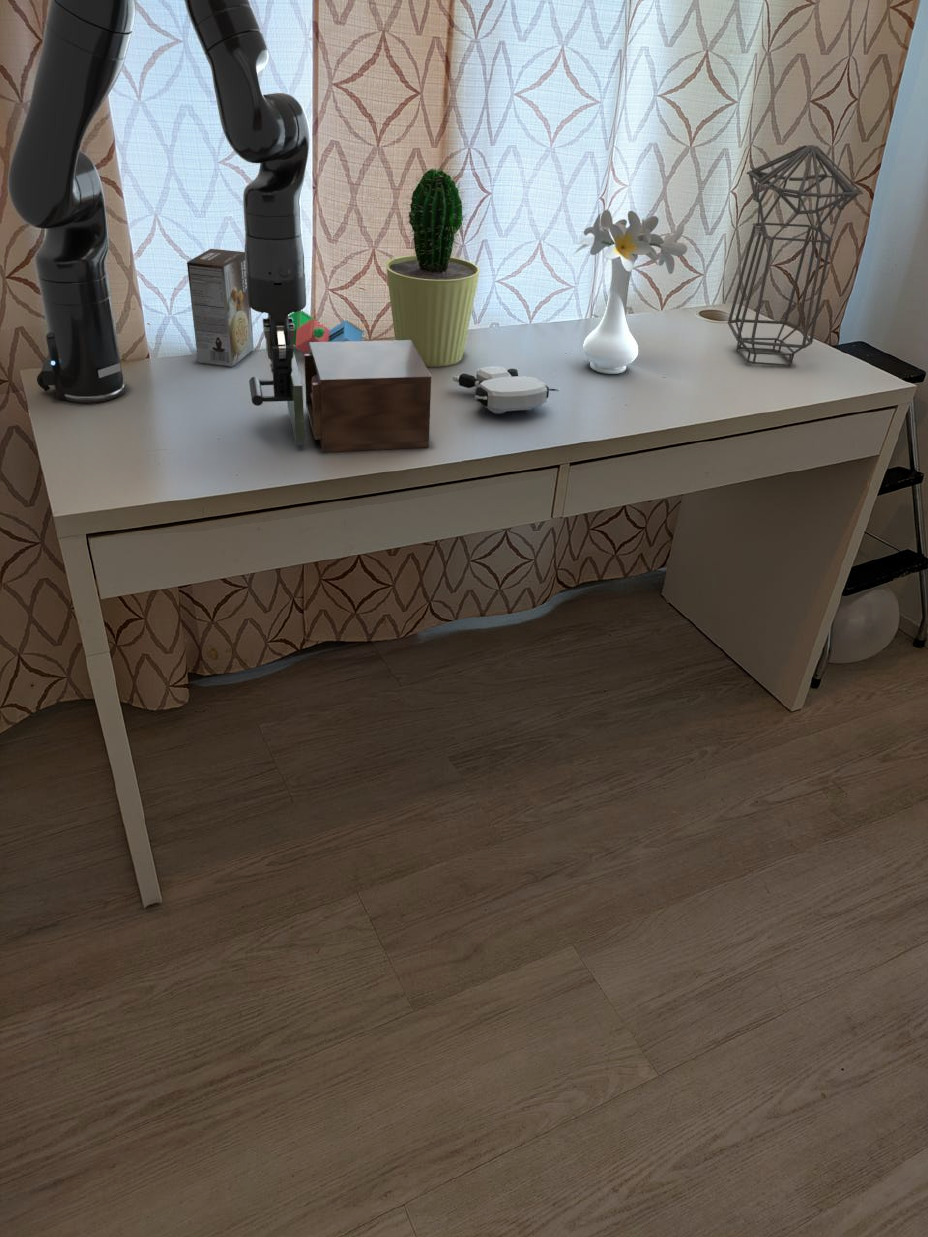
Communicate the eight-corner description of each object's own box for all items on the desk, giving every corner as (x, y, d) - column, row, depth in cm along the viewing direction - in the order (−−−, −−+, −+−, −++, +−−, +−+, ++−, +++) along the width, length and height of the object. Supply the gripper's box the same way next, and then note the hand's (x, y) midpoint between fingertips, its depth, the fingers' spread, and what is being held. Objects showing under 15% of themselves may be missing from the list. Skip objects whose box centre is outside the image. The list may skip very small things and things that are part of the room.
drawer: (255, 447, 131) (251, 387, 126) (250, 407, 141) (246, 351, 137) (394, 440, 135) (395, 382, 130) (379, 403, 146) (379, 348, 141)
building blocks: (315, 378, 168) (363, 350, 160) (278, 356, 162) (326, 327, 155) (318, 339, 170) (365, 311, 163) (281, 317, 165) (328, 286, 157)
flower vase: (675, 372, 166) (703, 218, 152) (587, 386, 158) (609, 225, 144) (629, 348, 176) (651, 200, 162) (544, 360, 168) (560, 206, 154)
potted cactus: (366, 349, 167) (366, 159, 150) (435, 334, 176) (443, 153, 159) (422, 377, 158) (428, 178, 141) (492, 360, 166) (506, 170, 150)
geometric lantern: (817, 376, 169) (876, 156, 149) (727, 370, 169) (774, 150, 149) (793, 346, 182) (845, 140, 162) (710, 341, 182) (751, 134, 162)
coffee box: (219, 345, 165) (210, 246, 156) (254, 349, 164) (248, 251, 155) (196, 362, 158) (185, 260, 149) (233, 367, 157) (225, 265, 148)
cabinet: (322, 452, 133) (320, 379, 127) (311, 410, 144) (309, 342, 139) (428, 447, 136) (431, 376, 130) (409, 406, 148) (411, 339, 142)
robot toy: (447, 394, 155) (486, 424, 143) (447, 366, 152) (487, 394, 140) (516, 386, 159) (559, 415, 147) (517, 359, 157) (562, 385, 145)
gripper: (243, 256, 129) (252, 381, 139) (248, 284, 119) (257, 418, 128) (300, 256, 131) (305, 379, 141) (309, 284, 120) (314, 415, 130)
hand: (282, 397), depth 134 cm, fingers closed
